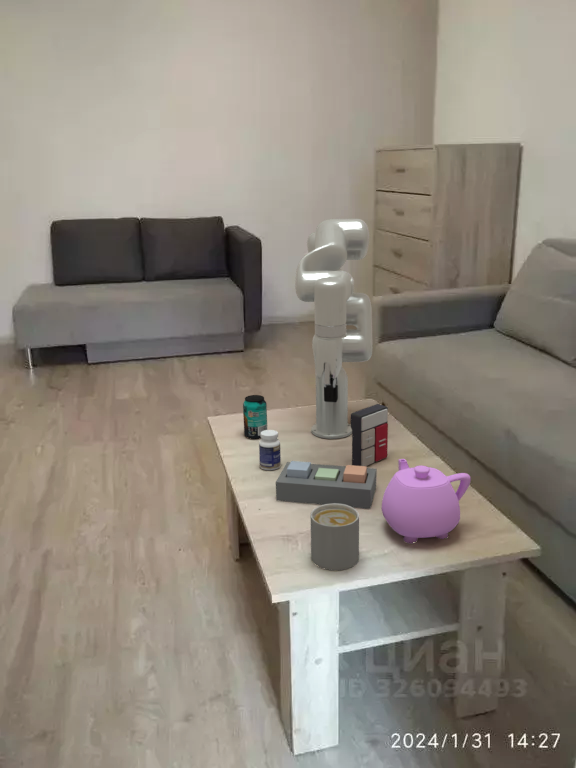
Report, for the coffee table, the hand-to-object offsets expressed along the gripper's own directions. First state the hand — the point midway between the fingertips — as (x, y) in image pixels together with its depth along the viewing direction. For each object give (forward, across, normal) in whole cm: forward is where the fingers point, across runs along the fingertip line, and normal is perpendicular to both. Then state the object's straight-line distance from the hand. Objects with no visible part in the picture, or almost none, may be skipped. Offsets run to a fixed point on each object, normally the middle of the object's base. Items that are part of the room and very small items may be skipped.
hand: (330, 400), depth 176 cm
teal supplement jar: (+24, -26, -28) cm, 45 cm away
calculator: (+23, -13, +8) cm, 27 cm away
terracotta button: (+20, +8, +7) cm, 22 cm away
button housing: (+22, +8, 0) cm, 23 cm away
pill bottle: (+23, -5, -18) cm, 29 cm away
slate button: (+20, +8, -7) cm, 22 cm away
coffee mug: (+20, +35, +6) cm, 41 cm away
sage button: (+21, +8, 0) cm, 22 cm away
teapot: (+21, +19, +24) cm, 38 cm away
